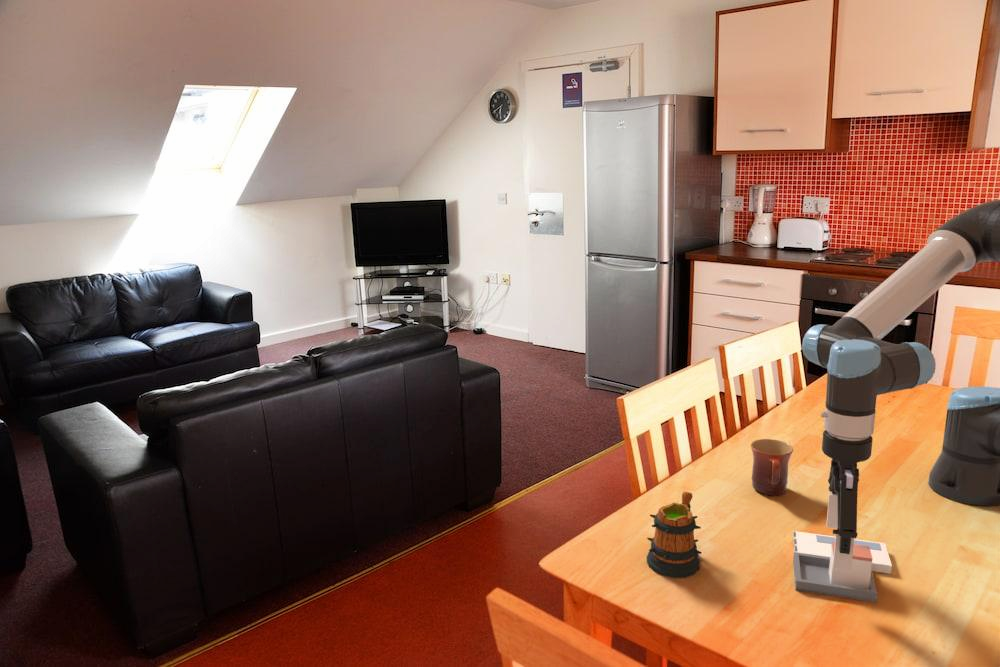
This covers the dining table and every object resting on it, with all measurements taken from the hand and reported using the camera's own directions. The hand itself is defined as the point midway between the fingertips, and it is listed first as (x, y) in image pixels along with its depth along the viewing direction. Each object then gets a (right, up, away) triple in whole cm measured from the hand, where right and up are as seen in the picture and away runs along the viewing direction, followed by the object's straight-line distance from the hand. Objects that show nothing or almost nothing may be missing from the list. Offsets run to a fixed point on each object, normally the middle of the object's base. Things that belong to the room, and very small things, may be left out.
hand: (838, 546), depth 130 cm
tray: (0, -6, +2) cm, 7 cm away
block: (+2, -6, +1) cm, 6 cm away
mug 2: (0, +2, +34) cm, 34 cm away
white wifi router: (+5, -4, +9) cm, 11 cm away
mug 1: (-26, -5, +9) cm, 28 cm away
